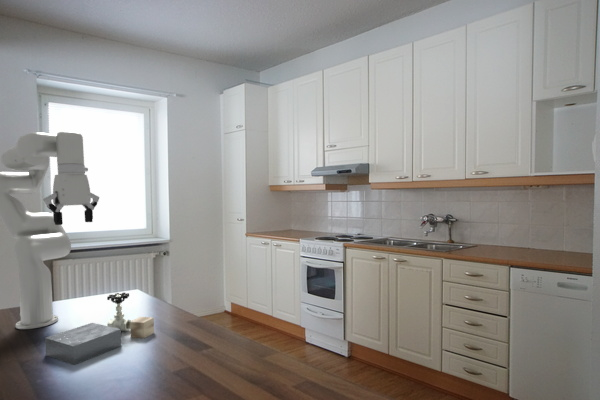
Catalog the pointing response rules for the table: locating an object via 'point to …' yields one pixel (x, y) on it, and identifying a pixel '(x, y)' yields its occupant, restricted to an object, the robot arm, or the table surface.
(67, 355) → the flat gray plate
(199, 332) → the table surface
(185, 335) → the table surface
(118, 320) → the valve
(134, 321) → the pale wood block
